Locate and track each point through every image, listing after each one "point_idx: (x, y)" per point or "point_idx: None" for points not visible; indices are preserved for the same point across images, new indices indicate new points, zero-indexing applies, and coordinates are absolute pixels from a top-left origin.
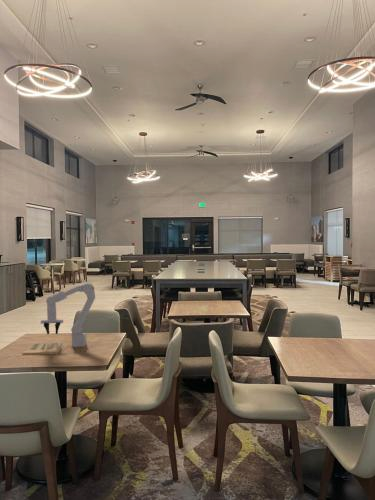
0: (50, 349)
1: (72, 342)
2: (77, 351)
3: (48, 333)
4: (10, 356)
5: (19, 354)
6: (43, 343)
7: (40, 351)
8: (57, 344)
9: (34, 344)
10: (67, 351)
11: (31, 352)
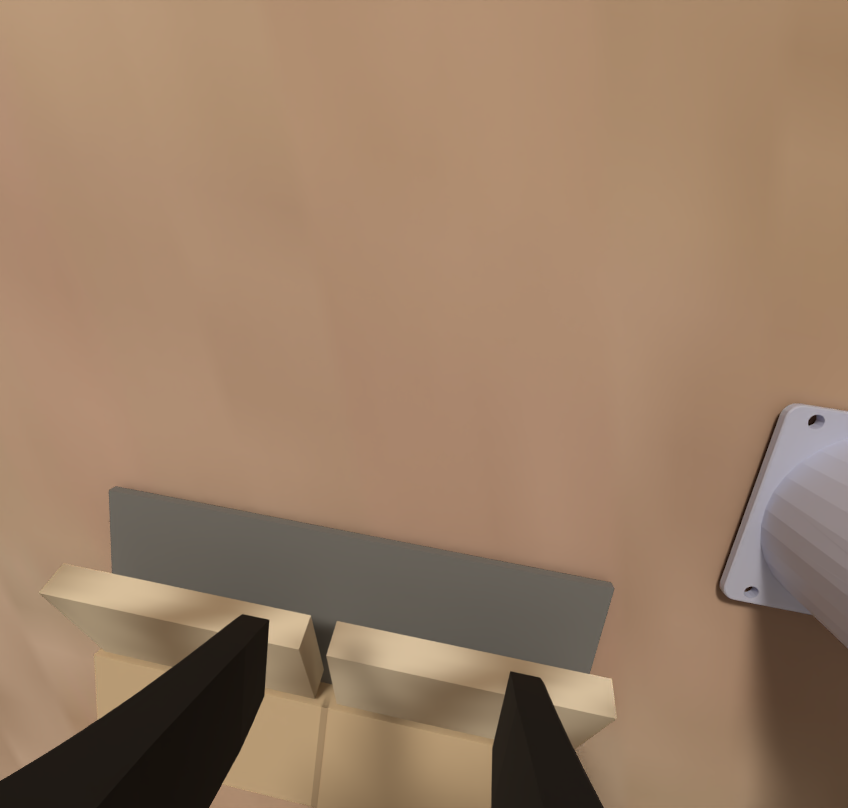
0: (427, 724)
1: (827, 624)
2: (820, 770)
3: (257, 689)
4: (5, 703)
5: (69, 661)
6: (270, 644)
7: (307, 770)
8: None
9: (129, 620)
10: (669, 726)
11: None
